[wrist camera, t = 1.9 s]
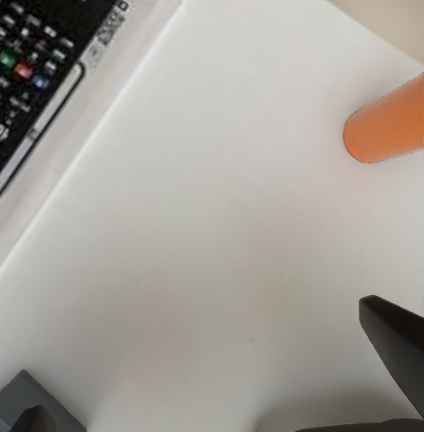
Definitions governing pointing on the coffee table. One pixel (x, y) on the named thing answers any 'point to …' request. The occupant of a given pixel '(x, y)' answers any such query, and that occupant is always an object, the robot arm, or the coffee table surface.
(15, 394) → the tray
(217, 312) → the coffee table surface
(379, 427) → the figurine
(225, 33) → the coffee table surface
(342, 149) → the coffee table surface
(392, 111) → the orange upright cylinder
